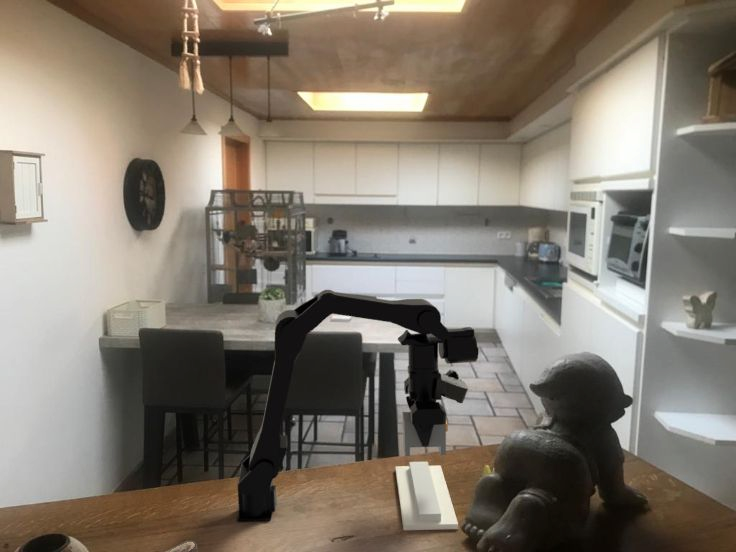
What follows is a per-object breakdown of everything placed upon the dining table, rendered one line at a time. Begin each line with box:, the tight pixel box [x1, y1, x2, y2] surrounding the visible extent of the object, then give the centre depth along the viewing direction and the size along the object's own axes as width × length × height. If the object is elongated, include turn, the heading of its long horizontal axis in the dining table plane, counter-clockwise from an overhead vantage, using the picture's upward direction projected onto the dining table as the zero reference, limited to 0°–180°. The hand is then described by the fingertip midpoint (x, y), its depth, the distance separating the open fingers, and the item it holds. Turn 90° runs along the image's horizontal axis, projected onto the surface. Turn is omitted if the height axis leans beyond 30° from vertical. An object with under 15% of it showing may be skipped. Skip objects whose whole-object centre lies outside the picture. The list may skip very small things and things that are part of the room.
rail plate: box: [395, 461, 459, 531], centre depth 114 cm, size 10×22×2 cm, turn 1°
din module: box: [402, 411, 449, 457], centre depth 112 cm, size 9×5×7 cm, turn 91°
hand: (423, 440), depth 112 cm, fingers closed on din module, 5 cm apart
